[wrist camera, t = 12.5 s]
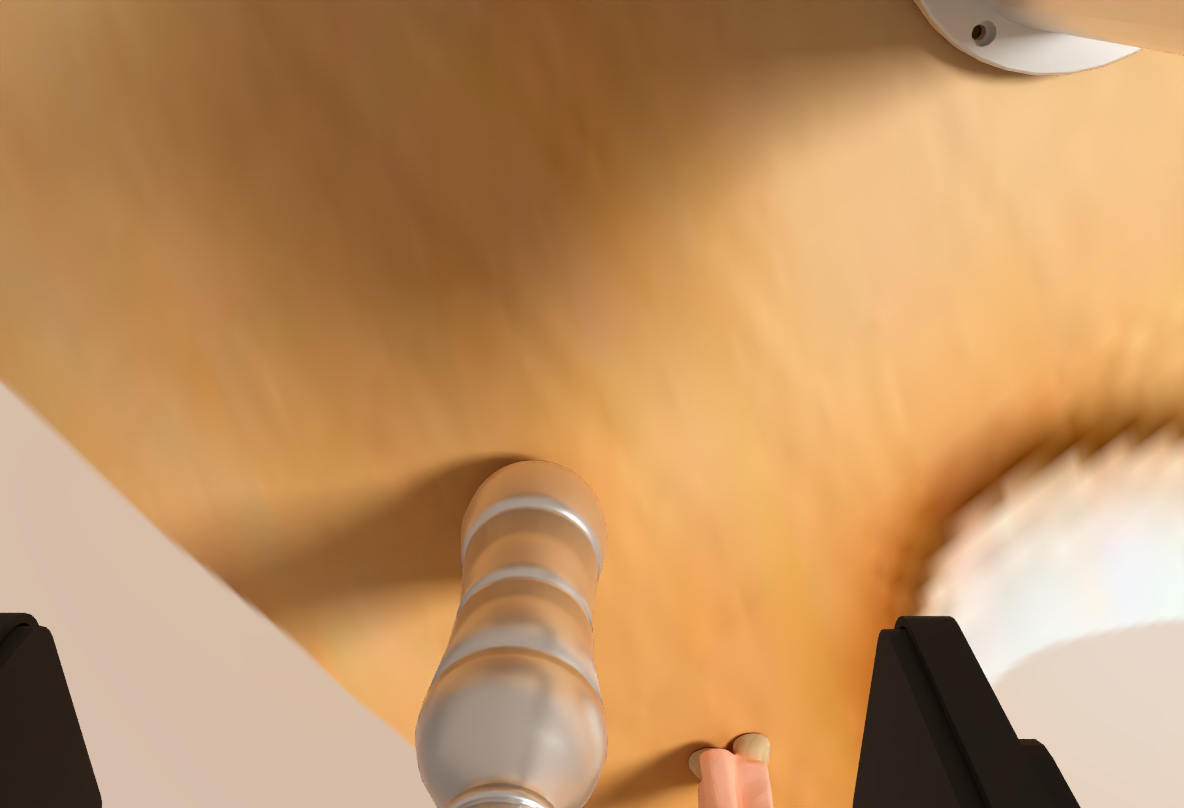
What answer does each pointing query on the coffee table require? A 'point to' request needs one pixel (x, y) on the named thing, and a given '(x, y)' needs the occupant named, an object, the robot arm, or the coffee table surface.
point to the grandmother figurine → (734, 774)
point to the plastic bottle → (520, 650)
